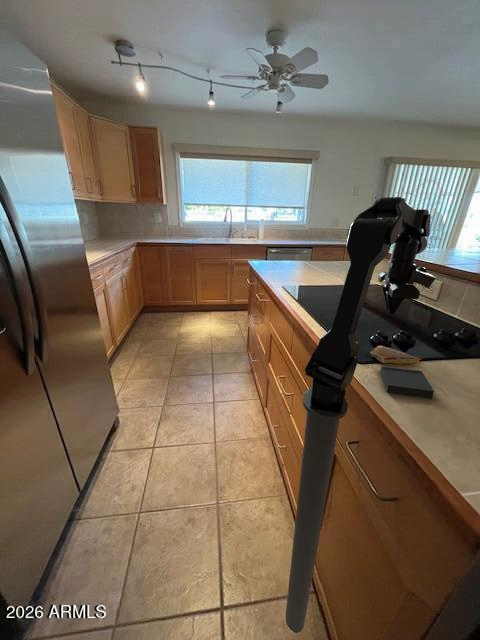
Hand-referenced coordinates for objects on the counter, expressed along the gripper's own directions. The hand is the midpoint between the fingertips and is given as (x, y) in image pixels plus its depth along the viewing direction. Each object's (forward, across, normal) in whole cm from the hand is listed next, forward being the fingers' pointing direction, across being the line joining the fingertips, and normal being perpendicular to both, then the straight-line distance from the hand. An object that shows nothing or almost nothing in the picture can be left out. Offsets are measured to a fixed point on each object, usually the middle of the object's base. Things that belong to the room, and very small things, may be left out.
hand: (390, 312), depth 77 cm
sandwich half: (+10, -9, 0) cm, 14 cm away
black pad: (+10, -22, 0) cm, 24 cm away
